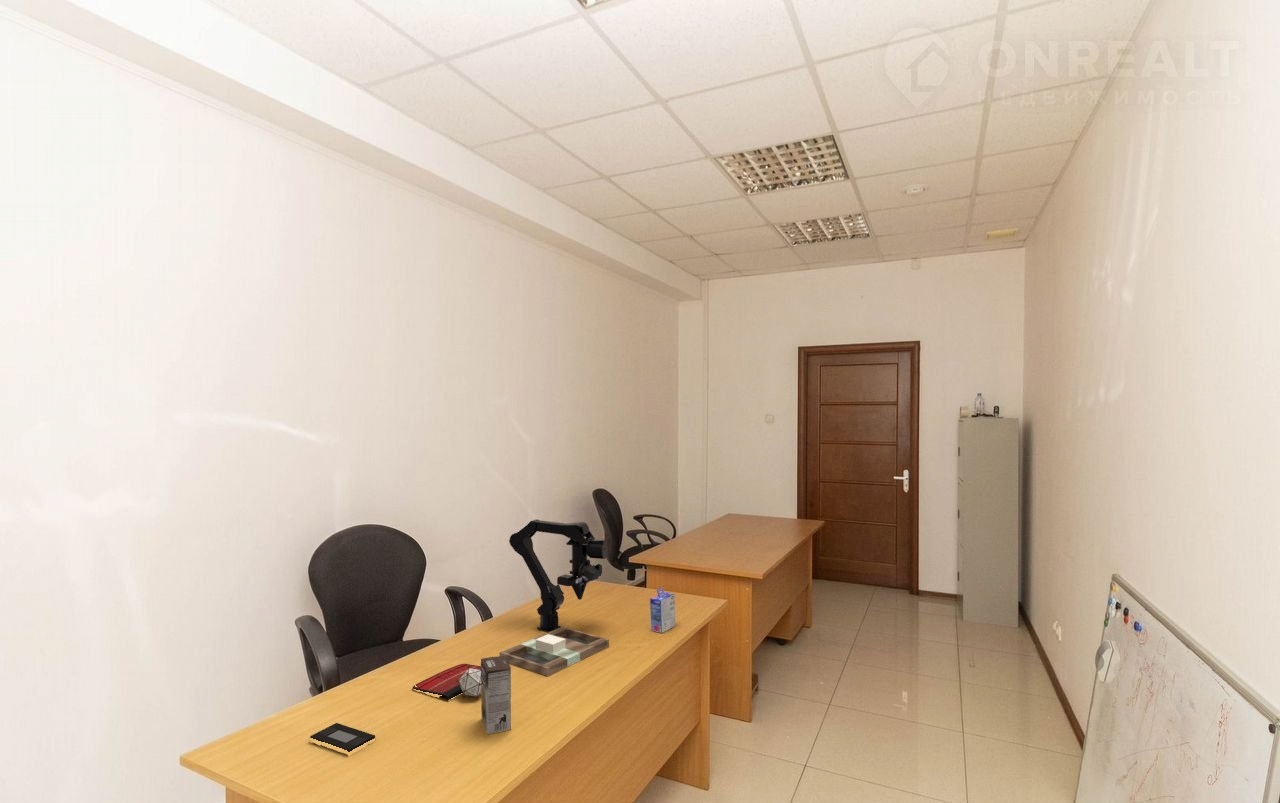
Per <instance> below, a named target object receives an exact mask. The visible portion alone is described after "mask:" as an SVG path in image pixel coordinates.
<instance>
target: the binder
mask: <svg viewBox="0 0 1280 803" xmlns="http://www.w3.org/2000/svg"><path fill="white" fill-rule="evenodd" d="M468 665H469V667H470V668H472V669H479V670H481V665H476V664H469V663H460V664H457V665H454V666H452V667H449V668H447V669H444V670H442V671H440V672H438V673H436V674H434V675H432V676H430V677H428V678H426V679H423V680H421V681H420V682H418V683H416V684H415V685H416V686H417V687H415V685H413V686H412V689H413V688H414V689H416V690H420V691H423V692H429V693H433V694H438V695H442V696H447V697H446V698H447V701H448V700H449V699H451V698H453V697H455V696H457V695H459V694H461V693H463V691H462V689H461V687H460V684H459V682H456V681H455V680H459V679H460V678H461V677H462V676H463V675H464V673H465V672H466V671H467V670H468V669H469V668H468Z"/></svg>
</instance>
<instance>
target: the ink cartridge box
mask: <svg viewBox="0 0 1280 803" xmlns="http://www.w3.org/2000/svg"><path fill="white" fill-rule="evenodd" d="M660 591H661V592H660ZM656 592H657V594H656V595H655V596H653V597H651V598H649V603H650V604H649V605H650V608H649V609H650V628H651V629H650V630H651V631H652V632H656V633H660V634H663V633H665V632H667V631H668V630H670V629H672V628H674V627H676V624H677V623H676V622H677V621H676V593H671V592H666V591H664V589H663V588H662V587H661V588H658V589H656Z"/></svg>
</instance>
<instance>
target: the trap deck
mask: <svg viewBox="0 0 1280 803" xmlns="http://www.w3.org/2000/svg"><path fill="white" fill-rule="evenodd" d="M548 634H549V635H553V636H556V637H560V638H564V639H566V648H565V649H563V650H560V651H558V652H556V653H554V654H552V653H549V652H545V651H542V650H539V649H536V639H538V638H540V637H543V636H545V635H548ZM607 648H610V639H608V638H605V637H601V636H599V635H595V634H591V633H587V632H584V631H580V630H576V629H573V628H569V627H565V626H561V627H560V628H558V629H556V630H553V631H551V632H546V633H543V634H542V635H538V636H537V637H534V638H532V639H529V640H527V641H524V642H522V643H520V644H517V645H515V646H511V647H508V648H507V649H504V650H502V651H500V652H499V656H505V658H506V660H507V662H508V663H509V665H513V666H517V667H519V668H522V669H525V670H527V671H530V672H533V673H535V674H539V675H542V676H545V677H550V676H551V675H554V674H556V673H557V672H560V671H562V670H563V669H566V668H568V667H570V666H572V665H574V664H577V663H578V662H580V661H582V660H585V659H586V658H589V657H591V656H592V655H595V654H598V653H599V652H601V651H603V650H605V649H607Z"/></svg>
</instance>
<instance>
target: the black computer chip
mask: <svg viewBox="0 0 1280 803" xmlns="http://www.w3.org/2000/svg"><path fill="white" fill-rule="evenodd" d="M310 738H313V739H316V740H318V741H321V742H325V743H328V744H331V745H333V746H336V747H339V748H342V749H344V750H347V751H348V752H350V751H352V750H353V749H355V748H357V747H359V746H361V745H363V744H364V743H366V742H368V741H370V740H372V739H374V738H375V739H376V735H374V734H372V733H369V732H366V731H363V730H359V729H357V728H354V727H350V726H347V725H345V724H342V723H340V722H339V723H338V722H335V723H333V724H331V725H330V726H328V727H325V728H324V729H322V730H319V731H318V732H316V733H314V734H311V735H310V736H309V739H310Z"/></svg>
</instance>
